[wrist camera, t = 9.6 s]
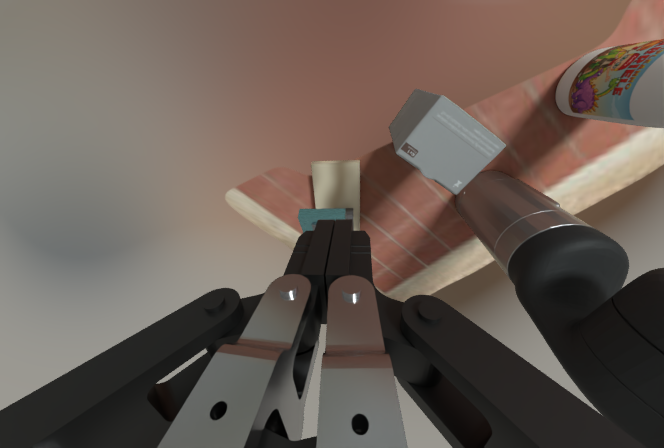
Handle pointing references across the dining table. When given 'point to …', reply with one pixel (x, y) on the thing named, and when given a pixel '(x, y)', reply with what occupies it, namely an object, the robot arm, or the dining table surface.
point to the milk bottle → (616, 85)
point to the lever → (318, 217)
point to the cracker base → (338, 187)
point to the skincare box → (442, 140)
